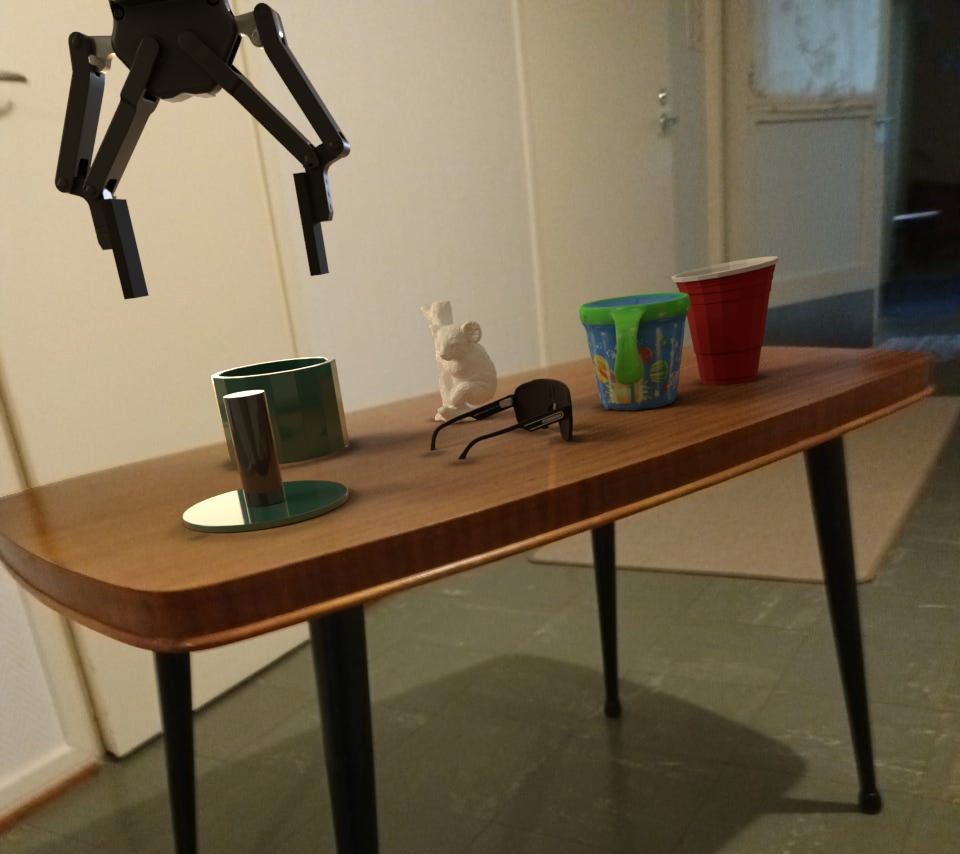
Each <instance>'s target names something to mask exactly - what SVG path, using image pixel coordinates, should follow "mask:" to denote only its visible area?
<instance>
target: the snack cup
mask: <svg viewBox="0 0 960 854" xmlns="http://www.w3.org/2000/svg"><path fill="white" fill-rule="evenodd" d="M578 309H579V312H578V313H579V320H580V323H581V325H582V326H583V327H584V330H585V333H586V339H587V340H586V341H587V345H588V350H589V356H590V360H591V365H592V369H593V374H594V378H595V383H596V388H597V392H598V396H599V398H600V402H601V404H602V406H603V407H604V409H605V410H606V411H611V410H615V411H617V412H618V411H619V412H633V411H634V412H635V411H643V410H652V409H658V408H661V407H665V406H669V405H671V404H673V402H674V401H675V400H676V398H677V395H678V389H679V381H680V372H681V364H682V356H683V346H684V339H685V327H686V326H685V325H686V320H687V315H688V311H689V309H690V299H689V295H688V294H686V293H680V292H653V293H642V294H633V295H624V296H617V297H609V298H603V299H598V300H593V301H589V302H585V303H583V304H581V305H580V306H579V308H578Z"/></svg>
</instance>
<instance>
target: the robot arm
mask: <svg viewBox="0 0 960 854" xmlns="http://www.w3.org/2000/svg"><path fill="white" fill-rule="evenodd" d="M107 1H108V5H109V9H110V12H111V15H112V31H111V34H110V35H88V34H85V33H82V32H80V31H77V30H76V31H72V32H71V33H70V34H69V35H68V38H67V43H68V51H69V56H70V57H69V58H70V64H71V71H72V73H71V78H70V84H69V91H68V96H67V103H66V108H65V116H64V122H63V129H62V133H61V139H60V146H59V152H58V158H57V163H56V172H55V176H54V186H55V188H56V189H57V190H58V192H60V193H63V194H69V195H72V196H77V197H80V198H82V199H83V200H85V202H86V203H87V205H88V207H89V212H90V216H91V219H92V223H93V228H94V231H95V236H96V240H97V243H98V245H99V247H100V248H101V250H102V251H112V254H113V259H114V262H115V267H116V270H117V275H118V279H119V283H120V287H121V291H122V296H123V300H131V299H138V298H143V297H148V296H149V290H148V286H147V282H146V279H145V278H146V277H145V274H144V269H143V265H142V261H141V256H140V252H139V248H138V244H137V240H136V236H135V231H134V227H133V222H132V219H131V215H130V214H131V213H130V210H129V205H128V200H127V199H126V198H125V199H124V198H118V196H117V195H115V193H116V191H117V189H118V186H119V184H120V182H121V180H122V178H123V176H124V173H125V171H126V169H127V167H128V166H129V165H128V164H129V162H130V160H131V158H132V156H133V154H134V151H135V149H136V147H137V145H138V143H139V140H140V138H141V136H142V133H143V131H144V130H145V127H146V126H147V123H148V121H149V119H150V117H151V115H152V114H153V113H154V112H155V111H156V109H157V108H158V106H159V103H160V101H161V100H162V101H165V102H168V103H170V104H174V103H182V102H184V101H186V100H189V99H190V98H193V97H195V98H202V99H208V98H215V97H216V96H217V94H218V93H220V91H222V89H223V90H224V91H225V92H226V93H227V94H228V95H230V96H231V97H232V98H233V99H234V100H235V101H236V102H237V103H239V105H241V106H242V108H244V109H245V111H247V113H249V114H250V116H251V117H253V118H254V119H255V120H256V121H257V123H258V124H260V125H261V127H263V128H264V129H265V130H266V131H267V132H268V133H269V134H270V135H271V136H272V137H273V138H274V139H275V140H276V141H277V142H278V143H279V144H280V145H281V146H282V147H283V148H285V149H286V150H287V152H288V153H290V154H291V156H293V158H295V159H296V160H297V162H298V163H300V164H301V165H302V168H304V171H302V172H295V173H294V172H293V173H292V176H293V183H294V188H295V194H296V200H297V205H298V212H299V217H300V223H301V228H302V234H303V240H304V246H305V251H306V257H307V262H308V269H309V275H310V277H314V276H315V277H316V276H322V275H327V274H330V270H329V264H328V259H327V253H326V247H325V240H324V234H323V228H322V227H323V226H322V223H325V222H333V218H334V207H333V201H332V195H331V194H332V193H331V188H330V182H329V170H330V167H331V166H332V165H333V164H334V163H336V162H338V161H340V160H341V159H345V158H346V157H348V156H349V155H350V152H351V145H350V142H349V140H348V139H347V137H346V135H345V134H344V133H343V131H342V130H341V127H340V126H339V125H338V123H337V121H336V120H335V118H334V117H333V115H332V113H331V112H330V111H329V109H328V107H327V105H326V104H325V102H324V101H323V99H322V97H321V96H320V95H319V93H318V91H317V90H316V88H315V86H314V85H313V83H312V82H311V80H310V78H309V77H308V75H307V74H306V72H305V70H304V69H303V67H302V66H301V64H300V63H299V61H298V59H297V58H296V56H295V54H294V53H293V51H292V50H291V48H290V47H289V43H288V40H287V36H286V32H285V29H284V25H283V21H282V17H281V15H280V14H279V13H278V12H277V10H275V9H274V8H273V7H271V6H270V5H269V4H267V3H265V2H259V3H257V4H256V5H255V6H253V7H254V8H253V10H252V11H249V12H245V13H242V14H238V15H235V14H234V12H233V11H232V9H231V5H230V1H229V0H107ZM243 37H247V38H248V39H249V41H250V42H251V44H252V45H253V46H254V47H256V48H257V49H258V50H262V51H264V53H265V55H266V57H267V58H268V60H269V62H270V63H271V64H272V67H273V68H274V69H275V71H276V72H277V74H278V75H279V77H280V78H281V80H282V82H283V84H284V85H285V86H286V88H287V89H288V91H289V92H290V95H291V96H292V97H293V99H294V101H295V102H296V103H297V105H298V107H299V108H300V110H301V112H302V113H303V115H304V116H305V118H306V119H307V121H308V122H309V124H310V125H311V127H312V129H313V131H314V132H315V134H316V135H317V137H318V138H319V140H320V141H321V143H320V144H318V145H317V146H315V145H314V144H313V143H312V142H311V140H309V139H308V138H307V137H306V136H305V135H304V134H303V133H302V132H301V130H300V129H298V128H297V127H296V126H295V125H294V124H293V123H292V122H291V121H290V120H289V119H288V118H287V117H286V116H285V115H284V114H283V113H282V112H281V111H280V110H279V109H278V108H277V107H276V106H275V105H273V103H272V102H271V101H270V100H269V99H268V98H267V97H266V96H265V95H264V94H263V93H261V92H260V90H259V89H258V88H256V87H255V85H254V84H253V83H252V82H251V81H250V80H249V79H248V78H247V76H245V75H244V73H242V71H240V69H238V68H237V67H236V66H235V65H234V62H235V58H236V56H237V53H238V51H239V48H240V46H241V43H242V39H243ZM115 57H116V58H117V59H118V60H119V61H120V62H121V63H122V64H123V65H124V67H126V68H127V70H128V71H129V72H128V74H127V76H126V79H125V80H124V83H123V85H122V88H121V90H120V93H119V98H120V99H119V102H118V104H117V107H116V109H115V111H114V114H113V116H112V119H111V120H110V123H109V125H108V127H107V130H106V132H105V134H104V136H103V139H102V141H101V143H100V146H99V147H98V151H97V152H96V154H95V156H94V150H95V144H96V140H97V139H96V138H97V133H98V128H99V127H98V126H99V123H100V122H99V121H100V116H101V111H102V106H103V105H102V104H103V98H104V94H105V85H106V74H107V73H109V72H110V71H111V68H112V61H113V59H114V58H115ZM93 156H94V159H93Z"/></svg>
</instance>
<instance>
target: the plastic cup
mask: <svg viewBox="0 0 960 854" xmlns="http://www.w3.org/2000/svg"><path fill="white" fill-rule="evenodd" d="M779 259H780V257H779V256H776V255H771V256H760V257H752V258H745V259H740V260H734V261H728V262H723V263H716V264H712V265H708V266H704V267H700V268H695V269H691V270H687V271H684V272H680V273H677V274H675V275H672V276H671V280H672V283H675V285H676V287H677V288H678V293H686V294H688V295H689V299H690V309H689V311H688V315H687V316H686V320H687V323H688V328H689V333H690V338H691V339H690V340H691V343H692V347H693V353H694V354H695V358H696V364H697V369H698V375H699V378H700V380H701V383H702V384H703V385H707V386H708V385H709V386H724V385H725V386H727V385H737V384H745V383H748V382H752V381H755V380H756V379H757V374H758V373H759V368H760V361H761V353H762V347H764V345H763V344H764V337H765V331H766V323H767V317H768V310H769V301H770V296H771V295H770V294H771V292H772V285H773V280H774V274H775V273H774V272H775V270H776V269H775V268H776V267H777V266H776V264H778V263H779Z"/></svg>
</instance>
